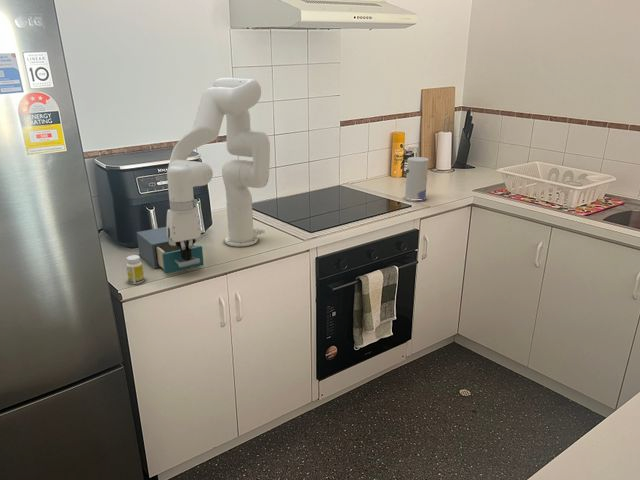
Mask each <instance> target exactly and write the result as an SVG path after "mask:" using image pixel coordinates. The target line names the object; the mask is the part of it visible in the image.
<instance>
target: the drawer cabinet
mask: <svg viewBox="0 0 640 480" xmlns="http://www.w3.org/2000/svg"><path fill="white" fill-rule="evenodd" d="M136 239H137V246H138V254H139V255H138V256H140V258H142V259H143V260H144V261H145V262H146V263H147V264H149V265H150V266H151V267H152V268H153V269H155V270H156V269H160V268H161V269H162V267H161V266H160V265H159V264H157V262H156V253H155V246H160V245H165V244H169V238H168V237H167V226H162V227H158V228H152V229H151V228H150V229H147V230H141V231H136Z"/></svg>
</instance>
